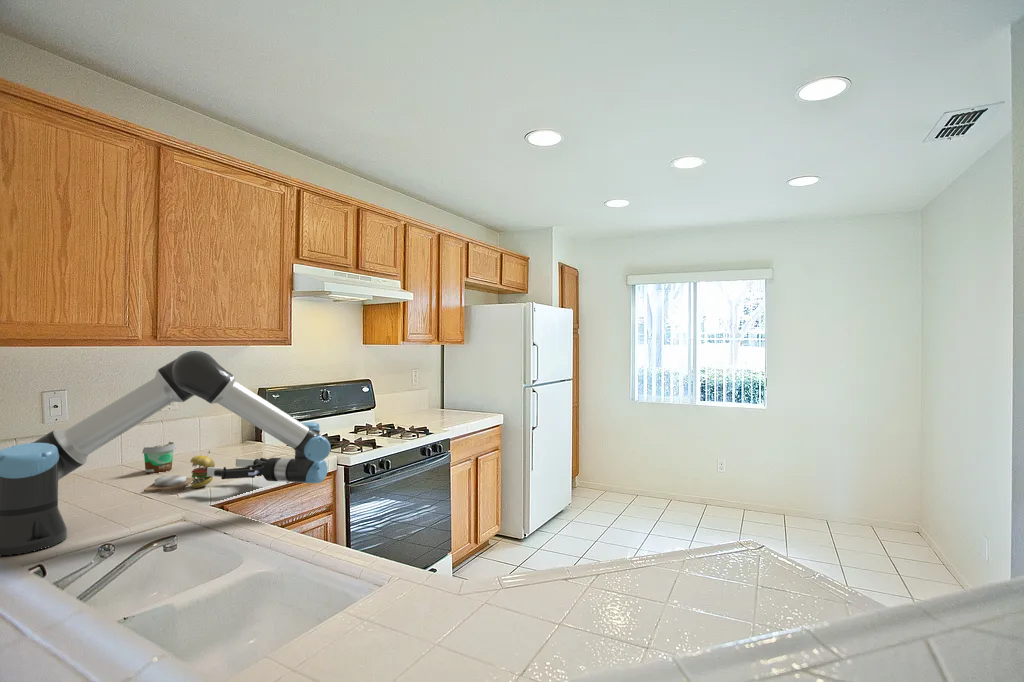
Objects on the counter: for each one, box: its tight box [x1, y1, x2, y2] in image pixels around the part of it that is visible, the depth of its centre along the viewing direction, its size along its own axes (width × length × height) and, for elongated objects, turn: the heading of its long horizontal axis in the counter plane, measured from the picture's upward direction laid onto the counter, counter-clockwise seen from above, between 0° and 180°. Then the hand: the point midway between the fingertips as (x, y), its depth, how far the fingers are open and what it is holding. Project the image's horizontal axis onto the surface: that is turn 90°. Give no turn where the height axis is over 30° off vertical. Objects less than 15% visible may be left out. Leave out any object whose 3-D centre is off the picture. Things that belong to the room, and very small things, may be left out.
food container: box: [142, 441, 176, 474], centre depth 203 cm, size 12×6×10 cm, turn 168°
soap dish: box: [143, 474, 194, 493], centre depth 182 cm, size 11×14×3 cm
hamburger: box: [189, 449, 216, 489], centre depth 182 cm, size 8×7×12 cm
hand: (222, 466), depth 181 cm, fingers open, 13 cm apart
